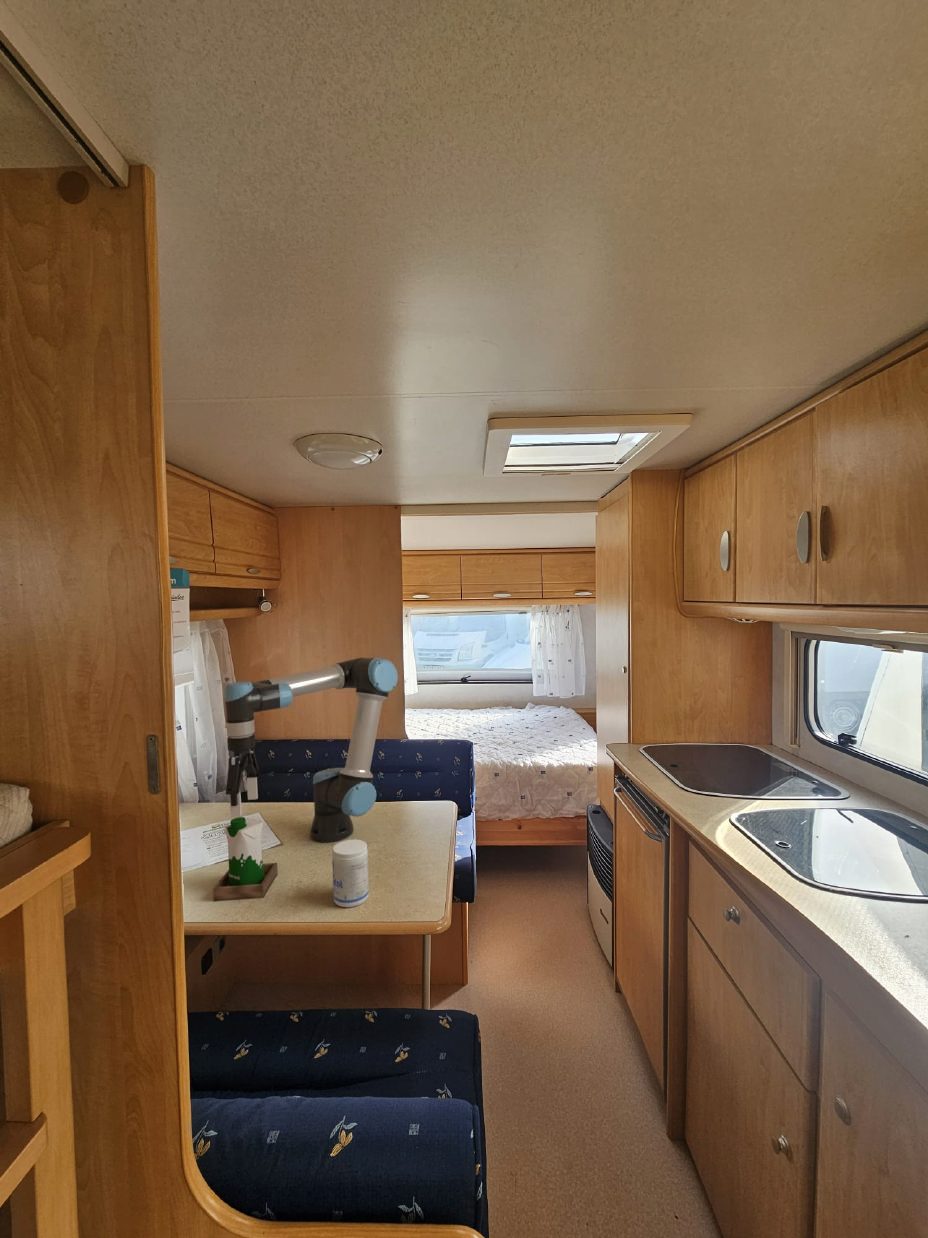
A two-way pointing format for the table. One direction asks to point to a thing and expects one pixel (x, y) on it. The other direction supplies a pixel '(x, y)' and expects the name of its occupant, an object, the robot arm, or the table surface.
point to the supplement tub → (350, 873)
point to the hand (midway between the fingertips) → (244, 807)
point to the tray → (245, 886)
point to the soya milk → (245, 851)
